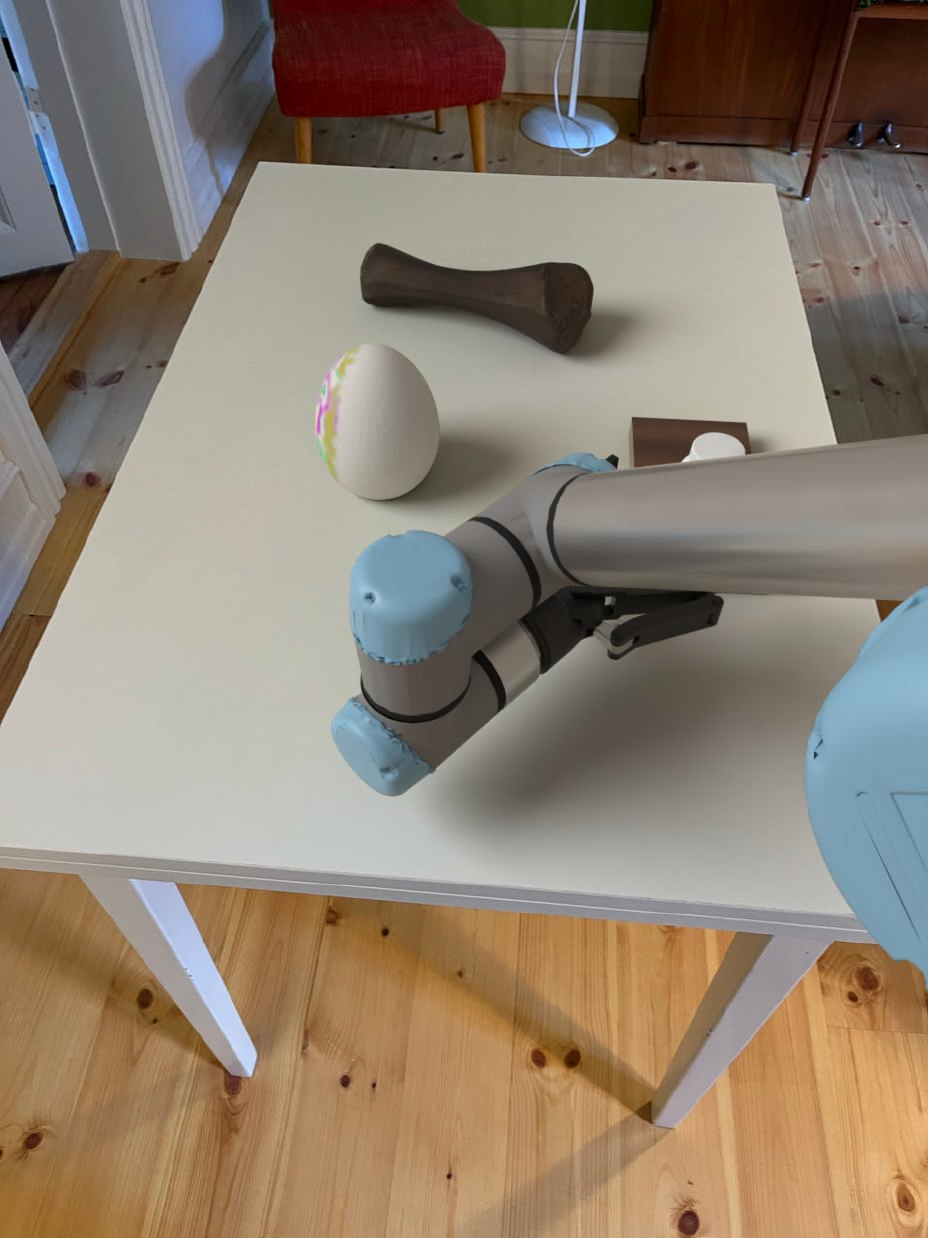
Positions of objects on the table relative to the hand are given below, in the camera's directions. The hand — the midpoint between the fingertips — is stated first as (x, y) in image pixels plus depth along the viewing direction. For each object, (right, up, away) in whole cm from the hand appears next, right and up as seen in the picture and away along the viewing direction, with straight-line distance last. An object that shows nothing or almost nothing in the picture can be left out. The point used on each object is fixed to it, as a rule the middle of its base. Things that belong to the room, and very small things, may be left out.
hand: (675, 503), depth 81 cm
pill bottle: (+4, -2, +9) cm, 11 cm away
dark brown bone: (-17, +26, +33) cm, 45 cm away
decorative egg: (-27, +5, +16) cm, 32 cm away
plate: (+4, +1, +12) cm, 13 cm away
